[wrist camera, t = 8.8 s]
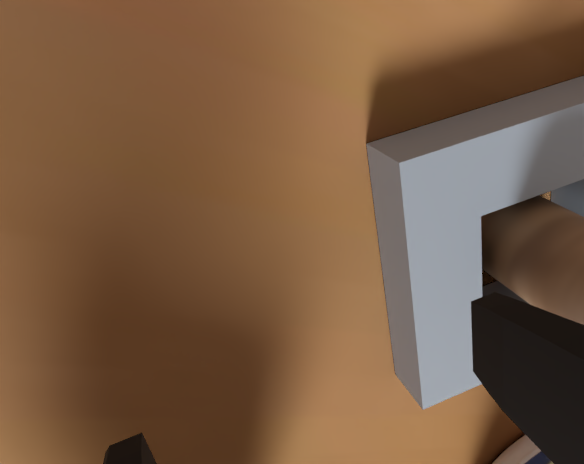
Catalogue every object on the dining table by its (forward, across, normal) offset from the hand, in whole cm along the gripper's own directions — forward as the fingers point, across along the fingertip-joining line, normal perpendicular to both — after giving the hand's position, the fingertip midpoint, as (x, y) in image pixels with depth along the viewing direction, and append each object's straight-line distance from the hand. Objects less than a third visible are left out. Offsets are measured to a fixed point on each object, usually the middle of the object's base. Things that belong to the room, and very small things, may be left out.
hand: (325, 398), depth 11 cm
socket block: (+10, -12, +5) cm, 16 cm away
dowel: (+10, -12, +5) cm, 16 cm away
